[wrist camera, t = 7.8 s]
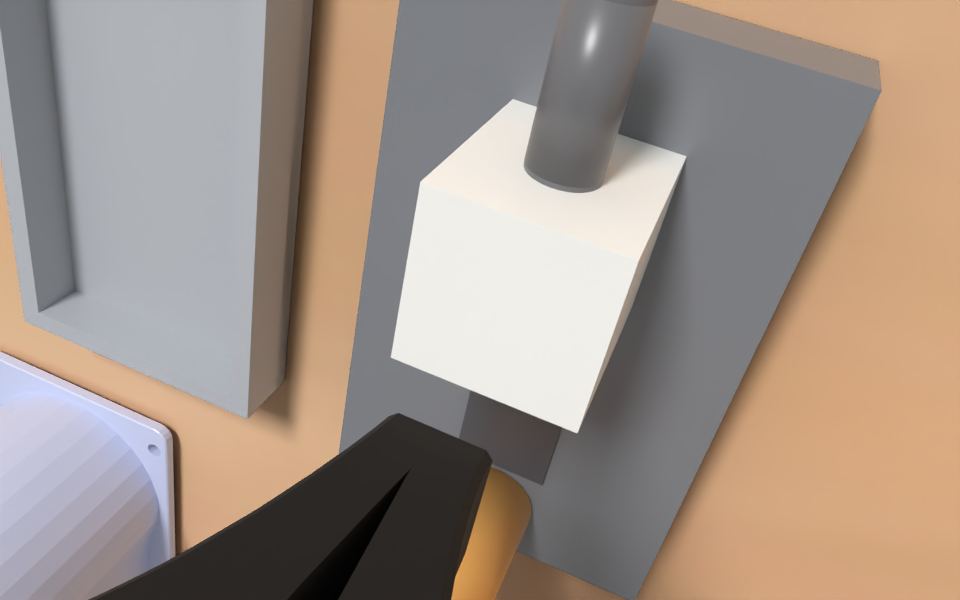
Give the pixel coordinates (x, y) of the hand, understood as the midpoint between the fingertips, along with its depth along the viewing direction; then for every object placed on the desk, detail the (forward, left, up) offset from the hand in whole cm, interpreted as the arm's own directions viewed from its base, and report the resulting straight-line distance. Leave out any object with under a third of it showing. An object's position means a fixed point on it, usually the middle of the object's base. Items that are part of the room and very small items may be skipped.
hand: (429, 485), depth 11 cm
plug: (+2, 0, -10) cm, 10 cm away
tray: (-3, +12, -10) cm, 16 cm away
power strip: (-3, 0, -10) cm, 11 cm away
